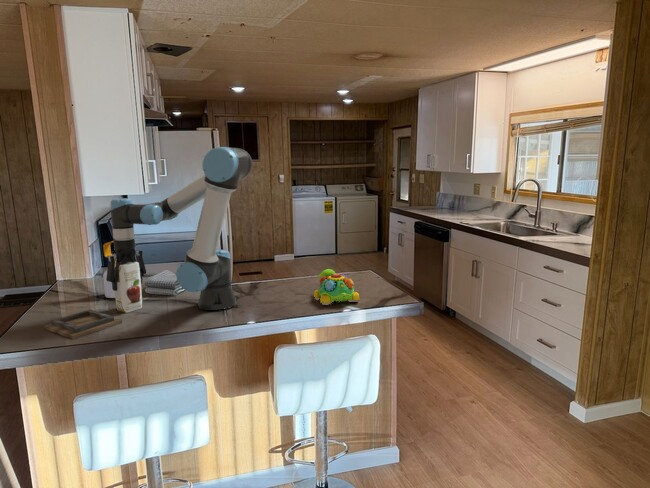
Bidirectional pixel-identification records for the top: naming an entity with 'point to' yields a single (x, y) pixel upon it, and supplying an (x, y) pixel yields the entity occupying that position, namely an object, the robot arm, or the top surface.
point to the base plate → (82, 324)
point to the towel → (163, 284)
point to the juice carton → (129, 287)
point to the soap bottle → (107, 285)
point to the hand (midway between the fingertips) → (128, 295)
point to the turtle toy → (335, 287)
